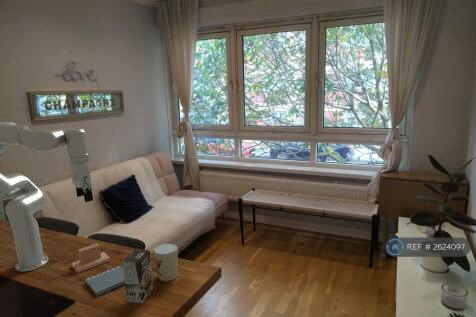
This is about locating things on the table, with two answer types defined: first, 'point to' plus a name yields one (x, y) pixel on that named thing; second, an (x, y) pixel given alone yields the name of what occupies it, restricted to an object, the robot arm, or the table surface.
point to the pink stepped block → (90, 258)
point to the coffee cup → (166, 261)
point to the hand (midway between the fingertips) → (85, 198)
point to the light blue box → (106, 281)
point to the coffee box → (138, 276)
